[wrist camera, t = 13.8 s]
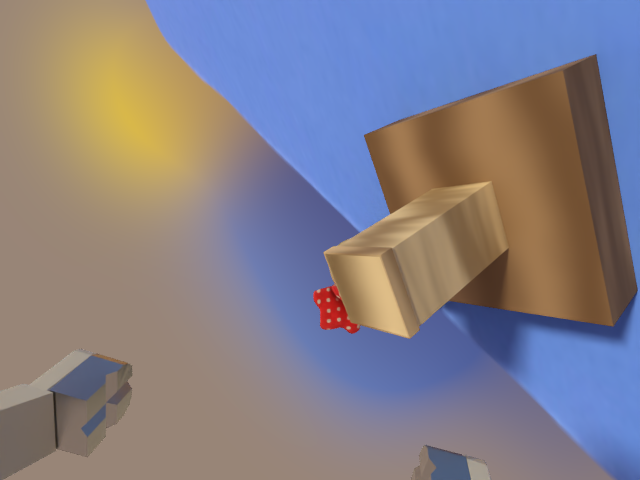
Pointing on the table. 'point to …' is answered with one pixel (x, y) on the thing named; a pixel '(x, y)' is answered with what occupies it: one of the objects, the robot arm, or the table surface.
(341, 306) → the bird rattle
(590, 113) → the pedestal
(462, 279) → the beech post
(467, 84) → the table surface
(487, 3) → the table surface
